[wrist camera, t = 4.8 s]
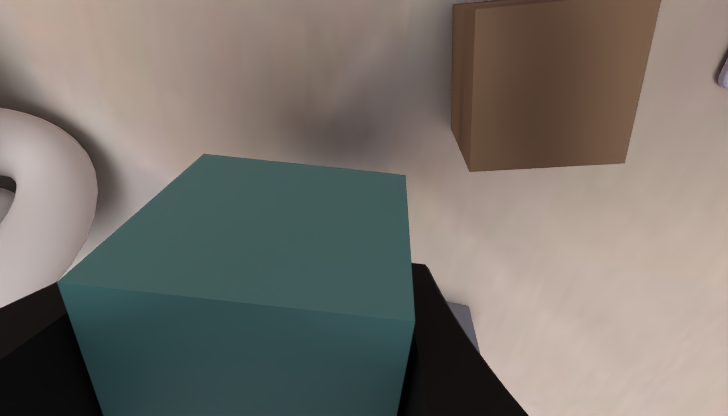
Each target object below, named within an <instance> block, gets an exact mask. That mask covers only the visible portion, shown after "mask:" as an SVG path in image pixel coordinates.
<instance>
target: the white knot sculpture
mask: <svg viewBox="0 0 728 416" xmlns="http://www.w3.org/2000/svg"><path fill="white" fill-rule="evenodd" d="M0 175H2V176H8V177H11V178H13V179H14V180H15V182H16V185H17V189H16V193H13V192H11V191H9V190H7V189H4V188H0V308H1V307H4V306H6V305H8V304H10V303H12V302H14V301H17V300H19V299H21V298H23V297H25V296H27V295H29V294H32V293H34V292H36V291H38V290H40V289H42V288H45V287H47V286H49V285H51V284H53V283H55V282H57V281H58V280H59V279H60V278H61V276H62V275H63V274H64V273H65V272H66V270H67V269H68V268H69V267H70V266H71V265H72V263H73V261H74V260H75V258H76V256H77V255H78V253H79V251H80V250H81V248H82V246H83V245H84V243H85V241H86V239H87V237H88V234H89V231H90V228H91V226H92V223H93V220H94V217H95V210H96V203H97V195H98V187H97V179H96V172H95V169H94V167H93V165H92V162H91V160H90V158H89V156H88V154H87V153H86V151H85V150H84V149H83V148H82V146H81V145H80V144H79V143H78V142H77V140H76V139H74V138H73V137H72V136H71V135H69V134H68V133H67V132H65V131H64V130H63V129H61V128H60V127H58V126H56V125H54V124H52V123H50V122H48V121H46V120H44V119H42V118H39V117H36V116H33V115H30V114H27V113H24V112H20V111H15V110H11V109H6V108H0Z"/></svg>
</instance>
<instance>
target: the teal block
mask: <svg viewBox="0 0 728 416" xmlns="http://www.w3.org/2000/svg"><path fill="white" fill-rule="evenodd" d="M57 284H58V287H59V289H60V292H61V295H62V298H63V301H64V304H65V307H66V310H67V312H68V315H69V318H70V321H71V324H72V327H73V330H74V333H75V335H76V338H77V341H78V344H79V347H80V350H81V353H82V356H83V358H84V361H85V364H86V367H87V370H88V373H89V376H90V378H91V381H92V384H93V387H94V390H95V393H96V396H97V399H98V401H99V404H100V407H101V410H102V413H103V416H397V412H398V406H399V401H400V396H401V391H402V386H403V381H404V376H405V371H406V366H407V361H408V356H409V351H410V345H411V340H412V335H413V330H414V325H415V311H414V296H413V281H412V266H411V251H410V236H409V221H408V206H407V191H406V176H405V175H400V174H390V173H381V172H371V171H362V170H352V169H343V168H333V167H323V166H314V165H304V164H295V163H285V162H276V161H266V160H256V159H247V158H237V157H228V156H218V155H209V154H203V155H202V156H201V157H200V158H199V159H198V160H196V161H195V162H194V163H193V164H192V165H191V166H190V167H188V168H187V169H186V170H185V171H184V172H183V173H182V174H180V175H179V176H178V177H177V178H176V179H175V180H174V181H172V182H171V183H170V184H169V185H168V186H167V187H166V188H164V189H163V190H162V191H161V192H160V193H159V194H157V195H156V196H155V197H154V198H153V199H152V200H151V201H149V202H148V203H147V204H146V205H145V206H144V207H143V208H141V209H140V210H139V211H138V212H137V213H136V214H135V215H133V216H132V217H131V218H130V219H129V220H128V221H127V222H125V223H124V224H123V225H122V226H121V227H120V228H119V229H117V230H116V231H115V232H114V233H113V234H112V235H111V236H109V237H108V238H107V239H106V240H105V241H104V242H103V243H101V244H100V245H99V246H98V247H97V248H96V249H95V250H93V251H92V252H91V253H90V254H89V255H88V256H86V257H85V258H84V259H83V260H82V261H81V262H80V263H78V264H77V265H76V266H75V267H74V268H73V269H72V270H70V271H69V272H68V273H67V274H66V275H65V276H64V277H62V278H61V279H60V280H59V281H58V282H57Z"/></svg>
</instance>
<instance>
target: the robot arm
mask: <svg viewBox="0 0 728 416" xmlns="http://www.w3.org/2000/svg"><path fill="white" fill-rule="evenodd" d="M718 82H719V85H720V86H721V87H723V88H726V89H728V58H727V60H726V62H725V64H724V66H723V68H722V70H721V72H720V75H719V78H718ZM411 266H412V281H413V296H414V311H415V325H414V330H413V335H412V340H411V345H410V351H409V356H408V361H407V366H406V371H405V376H404V381H403V386H402V391H401V396H400V401H399V406H398V412H397V416H528V414H527V413H526V412H525V411H524V410H523V408H522V407H521V406H520V405H519V404H518V402H517V401H516V400H515V399H514V398H513V397H512V395H511V394H510V393H509V392H508V390H507V389H506V388H505V387H504V385H503V384H502V383H501V382H500V380H499V379H498V378H497V376H496V375H495V374H494V372H493V371H492V370H491V368H490V367H489V366H488V364H487V363H486V362H485V360H484V359H483V357H482V356H481V355H480V353H479V352H478V351H477V349H476V348H475V346H474V345H473V343H472V342H471V340H470V339H469V337H468V336H467V334H466V333H465V331H464V330H463V328H462V326H461V325H460V323H459V322H458V320H457V319H456V317H455V316H454V314H453V312H452V311H451V309H450V307H449V306H448V304H447V302H446V300H445V299H444V297H443V295H442V293H441V292H440V290H439V288H438V286H437V284H436V282H435V280H434V278H433V276H432V275H431V272H430V270H429V269H428V267H427V266H426V265H425V264H416V263H411ZM57 282H58V281H57ZM57 282H55V283H53V284H51V285H49V286H47V287H45V288H42V289H40V290H38V291H36V292H34V293H32V294H29V295H27V296H25V297H23V298H21V299H19V300H17V301H14V302H12V303H10V304H8V305H6V306H4V307H1V308H0V416H103V413H102V410H101V407H100V404H99V401H98V399H97V396H96V393H95V390H94V387H93V384H92V381H91V378H90V376H89V373H88V370H87V367H86V364H85V361H84V358H83V356H82V353H81V350H80V347H79V344H78V341H77V338H76V335H75V333H74V330H73V327H72V324H71V321H70V318H69V315H68V312H67V310H66V307H65V304H64V301H63V298H62V295H61V292H60V289H59V287H58V284H57Z"/></svg>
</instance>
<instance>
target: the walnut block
mask: <svg viewBox="0 0 728 416" xmlns="http://www.w3.org/2000/svg"><path fill="white" fill-rule="evenodd" d="M660 3H661V0H496V1H485V2H474V3H464V4H453V28H452V109H451V130H452V132H453V134H454V137H455V139H456V141H457V144H458V146H459V148H460V151H461V153H462V155H463V157H464V160H465V162H466V164H467V167H468V169H469V171H470V172H476V171H494V170H512V169H530V168H548V167H566V166H584V165H602V164H620V163H625V159H626V155H627V150H628V146H629V141H630V137H631V132H632V128H633V123H634V119H635V115H636V110H637V106H638V101H639V97H640V92H641V88H642V83H643V79H644V74H645V70H646V65H647V61H648V56H649V52H650V47H651V43H652V38H653V34H654V30H655V25H656V21H657V16H658V12H659V7H660Z"/></svg>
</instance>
